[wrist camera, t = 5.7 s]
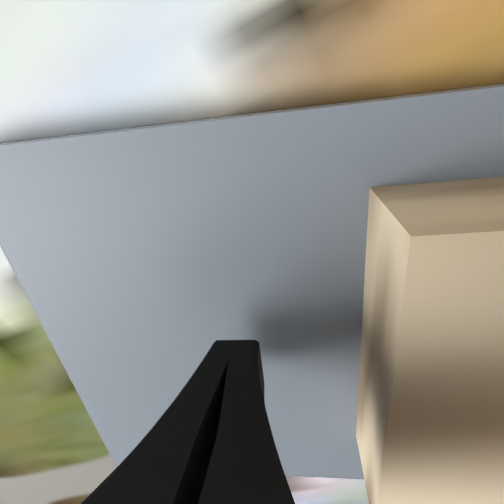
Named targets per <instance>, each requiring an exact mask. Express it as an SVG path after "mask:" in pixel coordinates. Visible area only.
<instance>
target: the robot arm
mask: <svg viewBox="0 0 504 504" xmlns="http://www.w3.org/2000/svg"><path fill="white" fill-rule="evenodd" d="M81 504H295V503H294V500H293V497H292V494H291V491H290V488H289V485H288V483H287V480H286V477H285V474H284V471H283V468H282V465H281V461H280V458H279V455H278V452H277V449H276V445H275V442H274V438H273V435H272V431H271V427H270V424H269V420H268V416H267V412H266V408H265V400H264V376H263V368H262V360H261V352H260V344H259V342H258V341H256V340H216V341H215V342H214V343H213V344H212V346H211V348H210V349H209V351H208V352H207V354H206V355H205V357H204V359H203V360H202V362H201V363H200V365H199V366H198V367H197V369H196V370H195V372H194V373H193V375H192V376H191V378H190V379H189V380H188V382H187V383H186V385H185V386H184V387H183V389H182V390H181V391H180V393H179V394H178V396H177V397H176V398H175V400H174V401H173V402H172V404H171V405H170V406H169V407H168V409H167V410H166V411H165V412H164V414H163V415H162V416H161V417H160V419H159V420H158V421H157V422H156V424H155V425H154V426H153V427H152V429H151V430H150V431H149V432H148V433H147V434H146V436H145V437H144V438H143V439H142V440H141V441H140V443H139V444H138V445H137V446H136V447H135V448H134V449H133V450H132V452H131V453H130V454H129V455H128V456H127V457H126V458H125V459H124V460H123V461H122V462H121V464H120V465H119V466H118V467H117V468H116V469H115V470H114V471H113V472H112V473H111V474H110V475H109V476H108V477H107V478H106V479H105V480H104V481H103V482H102V483H101V484H100V485H99V486H98V487H97V488H96V489H95V490H94V491H93V492H92V493H91V494H90V495H89V496H88V497H87V498H86V499H85V500H84V501H83V502H82V503H81Z"/></svg>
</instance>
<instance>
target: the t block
mask: <svg viewBox="0 0 504 504" xmlns="http://www.w3.org/2000/svg"><path fill="white" fill-rule="evenodd" d="M356 439H357V444H358V449H359V454H360V459H361V464H362V469H363V474H364V479H365V484H366V489H367V494H368V499H369V504H504V176H502V177H490V178H478V179H465V180H453V181H441V182H429V183H416V184H404V185H392V186H379V187H369V205H368V224H367V242H366V260H365V278H364V296H363V314H362V332H361V350H360V369H359V387H358V405H357V423H356Z"/></svg>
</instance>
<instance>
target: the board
mask: <svg viewBox="0 0 504 504" xmlns="http://www.w3.org/2000/svg"><path fill="white" fill-rule="evenodd" d="M502 176H504V83H502V84H494V85H485V86H477V87H469V88H460V89H452V90H443V91H435V92H426V93H418V94H410V95H401V96H393V97H384V98H376V99H368V100H359V101H351V102H342V103H334V104H326V105H317V106H309V107H300V108H292V109H283V110H275V111H267V112H258V113H250V114H241V115H233V116H225V117H216V118H208V119H199V120H191V121H183V122H174V123H166V124H157V125H149V126H140V127H132V128H124V129H115V130H107V131H98V132H90V133H82V134H73V135H65V136H56V137H48V138H40V139H31V140H23V141H14V142H6V143H0V246H1V248H2V250H3V252H4V254H5V256H6V258H7V260H8V262H9V264H10V265H11V267H12V269H13V271H14V273H15V275H16V277H17V279H18V281H19V282H20V284H21V286H22V288H23V290H24V292H25V294H26V296H27V298H28V300H29V301H30V303H31V305H32V307H33V309H34V311H35V313H36V315H37V317H38V319H39V320H40V322H41V324H42V326H43V328H44V330H45V332H46V334H47V336H48V338H49V339H50V341H51V343H52V345H53V347H54V349H55V351H56V353H57V355H58V356H59V358H60V360H61V362H62V364H63V366H64V368H65V370H66V372H67V374H68V375H69V377H70V379H71V381H72V383H73V385H74V387H75V389H76V391H77V393H78V394H79V396H80V398H81V400H82V402H83V404H84V406H85V408H86V410H87V412H88V413H89V415H90V417H91V419H92V421H93V423H94V425H95V427H96V429H97V431H98V432H99V434H100V436H101V438H102V440H103V442H104V444H105V446H106V448H107V449H108V451H109V453H110V455H111V457H112V459H113V461H114V463H115V465H116V466H117V467H118V466H119V465H120V464H121V462H122V461H123V460H124V459H125V458H126V457H127V456H128V455H129V454H130V453H131V452H132V450H133V449H134V448H135V447H136V446H137V445H138V444H139V443H140V441H141V440H142V439H143V438H144V437H145V436H146V434H147V433H148V432H149V431H150V430H151V429H152V427H153V426H154V425H155V424H156V422H157V421H158V420H159V419H160V417H161V416H162V415H163V414H164V412H165V411H166V410H167V409H168V407H169V406H170V405H171V404H172V402H173V401H174V400H175V398H176V397H177V396H178V394H179V393H180V391H181V390H182V389H183V387H184V386H185V385H186V383H187V382H188V380H189V379H190V378H191V376H192V375H193V373H194V372H195V370H196V369H197V367H198V366H199V365H200V363H201V362H202V360H203V359H204V357H205V355H206V354H207V352H208V351H209V349H210V348H211V346H212V344H213V343H214V342H215V341H216V340H256V341H258V342H259V344H260V352H261V360H262V368H263V376H264V400H265V408H266V412H267V416H268V420H269V424H270V427H271V431H272V435H273V438H274V442H275V445H276V449H277V452H278V455H279V458H280V461H281V465H282V468H283V471H284V474H285V476H304V477H326V478H349V479H364V474H363V469H362V464H361V459H360V454H359V449H358V444H357V439H356V423H357V405H358V387H359V369H360V350H361V332H362V314H363V296H364V278H365V260H366V242H367V224H368V205H369V187H379V186H392V185H404V184H416V183H429V182H441V181H453V180H465V179H478V178H490V177H502Z"/></svg>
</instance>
